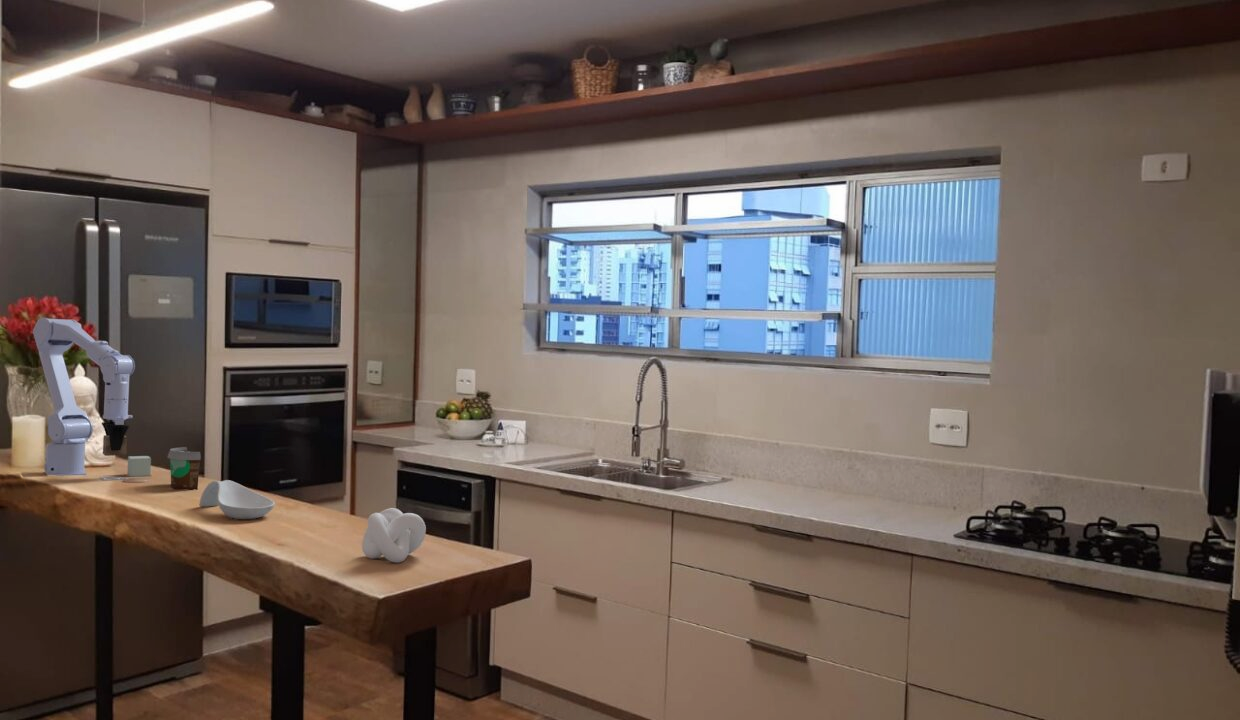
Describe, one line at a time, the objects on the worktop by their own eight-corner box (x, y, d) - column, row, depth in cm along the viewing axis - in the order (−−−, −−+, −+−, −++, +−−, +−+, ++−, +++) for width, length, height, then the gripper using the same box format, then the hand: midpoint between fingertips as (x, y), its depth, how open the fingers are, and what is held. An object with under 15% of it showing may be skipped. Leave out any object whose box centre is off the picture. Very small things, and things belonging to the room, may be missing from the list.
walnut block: (105, 455, 242) (106, 437, 243) (102, 453, 247) (103, 435, 247) (126, 455, 245) (127, 436, 246) (123, 453, 250) (124, 435, 250)
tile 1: (102, 481, 242) (102, 480, 242) (99, 478, 247) (99, 477, 247) (127, 480, 245) (127, 479, 245) (123, 477, 250) (123, 476, 250)
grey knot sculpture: (342, 558, 170) (344, 510, 170) (392, 548, 180) (394, 503, 180) (383, 568, 163) (385, 519, 163) (432, 557, 173) (434, 511, 173)
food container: (160, 485, 241) (161, 447, 241) (184, 483, 245) (186, 447, 245) (174, 491, 232) (175, 453, 232) (199, 490, 236) (201, 452, 236)
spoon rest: (284, 519, 205) (285, 487, 205) (234, 525, 195) (235, 492, 195) (230, 504, 219) (232, 475, 219) (182, 509, 210) (183, 479, 210)
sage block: (130, 476, 251) (130, 458, 251) (127, 474, 255) (128, 456, 255) (150, 475, 254) (150, 458, 254) (147, 473, 258) (147, 456, 258)
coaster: (124, 484, 239) (124, 482, 239) (120, 480, 245) (120, 478, 245) (154, 483, 243) (154, 481, 243) (149, 479, 249) (149, 477, 249)
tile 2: (128, 478, 250) (128, 476, 250) (125, 475, 255) (125, 474, 255) (152, 477, 254) (152, 476, 254) (148, 474, 258) (148, 473, 258)
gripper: (137, 401, 242) (135, 451, 243) (128, 397, 254) (126, 445, 254) (107, 401, 238) (105, 452, 238) (100, 397, 250) (97, 446, 250)
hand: (114, 449), depth 246 cm, fingers closed on walnut block, 5 cm apart
